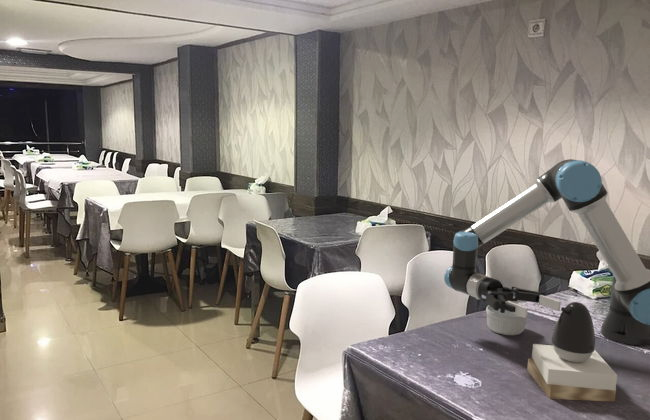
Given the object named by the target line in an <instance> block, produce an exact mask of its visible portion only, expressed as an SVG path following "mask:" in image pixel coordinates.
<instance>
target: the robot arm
mask: <svg viewBox="0 0 650 420" xmlns="http://www.w3.org/2000/svg"><path fill="white" fill-rule="evenodd" d="M607 197H608V191H607V189H606V188H605V186H604V184H603V180H602V176H601V173H600V171H599V170H598V169H597V168H596V166H595V165H593V164H591V162H588V161H584V160H579V159H578V160H577V159H564V160H561V161H559V162H557V163H556V164H555V165H553V166H552V167H551V168H550V169H548V170H547V171H546V172H544V173H543V174H542V175H540V176H539V177H537V178H536V179H535V183H534V184H532V185H531V186H529V187H528V188H526V189H524V190H523V191H521V192H520V193H518V194H517V195H515V196H514V197H513V198H511V199H510V200H508V201H506V202H505V203H503V204H502V205H500V206H499V207H498V208H496V209H494V210H493V211H491V212H490V213H488V214H487V215H485V216H484V217H482V218H480V219H479V220H478V221H476V222H475V223H474V224H471V226H468V227H467V228H466V229H465V228H464V230H460V231H458V232H455V234H454V237H453V251H452V265H451V266H449V267H448V268H447V269H446V271H445V273H444V277H443V279H444V283H445V284H446V286H448V287H449V288H450V289H453V290H454V291H456V292H460V293H463V294H465V295H467V296H471V297H473V298H475V299H476V300H481V301H482V302H485V303H487V305H488V306H489V305H490V306H491V307H492V308H493V309H494V310H496V311H498V310H499V309H501V310H500V312H501V313H505V310H506V311H508V312H511V313H513V314H516V315H518V316H521V317H523V318H526V319H528V317H527V313H528V307H526V306H523V305H520V304H517V303H516V302H518V301H522V302H529V303H538V305H540V306H543V307H546V308H548V309H550V310H554V311H557V312H560V311H561V304H562V301H561V300H558V299H554V298H551V297H548V296H546V293H545V292H543V291H534V290H530V289H524V288H519V287H516V286H511V288H510V287H508V286H507V287H506V286H503V284H502V282H501V281H500V280H498V279H495V278H493V277H490V276H488V275H484V274H481V273H477V272H476V271H477V261H478V259H477V258H478V248H480V247H482V246H483V245H484V244H486V243H487V242H489V241H491V240H492V239H494V238H496V237H497V236H499V235H500V234H502V233H503V232H504V231H506V230H508V229H510V228H511V227H513V226H514V225H515V224H517V223H519V222H520V221H522V220H523V219H525V218H526V217H528V216H530V215H531V214H533V213H535V212H536V211H538V210H540V209H541V208H542V207H544V206H545V205H548V203H553V204H555V203H556V202H558V201H559V200H561V199H562V201H563V202H564V203H565V206H566V208H567V209H568V211H569V212H570V213H571V212H572V213H575V214H577V215H578V218H579V219H580V221H581V222H582V223H583V226H584V227H585V229H586V231H587V232H588V235H590V237H591V240H592V241H593V242H594V244H595V246H596V247H597V249H598V251H599V252H600V255H601V256H602V258H603V260H604V261H605V263H606V264H607V265H606V266H607V267H608V268H609V270H610V272H611V274H612V282H611V290H610V300H609V310H608V313H607V315H606V316H605V318H604V320H603V321H602V322H603V323H602V324H601V326H600V327H601V329H600V333H601V334H602V336H604V337H605V338H607V339H609V340H612V341H615V342H618V343H622V344H625V345H632V346H650V269H648V268H646V267H645V265H644V264H643V261H642V260H641V258H640V257H639V255H638V253H637V252H636V250H635V248H634V246H633V244H632V243H631V241H630V240H629V237H628V236H627V234H626V233H625V231H624V229H623V228H622V226H621V224H620V222H619V221H618V219H617V217H616V215H615V214H614V212H613V210H612V208H611V207H610V206H609V204H608V202H607Z"/></svg>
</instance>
